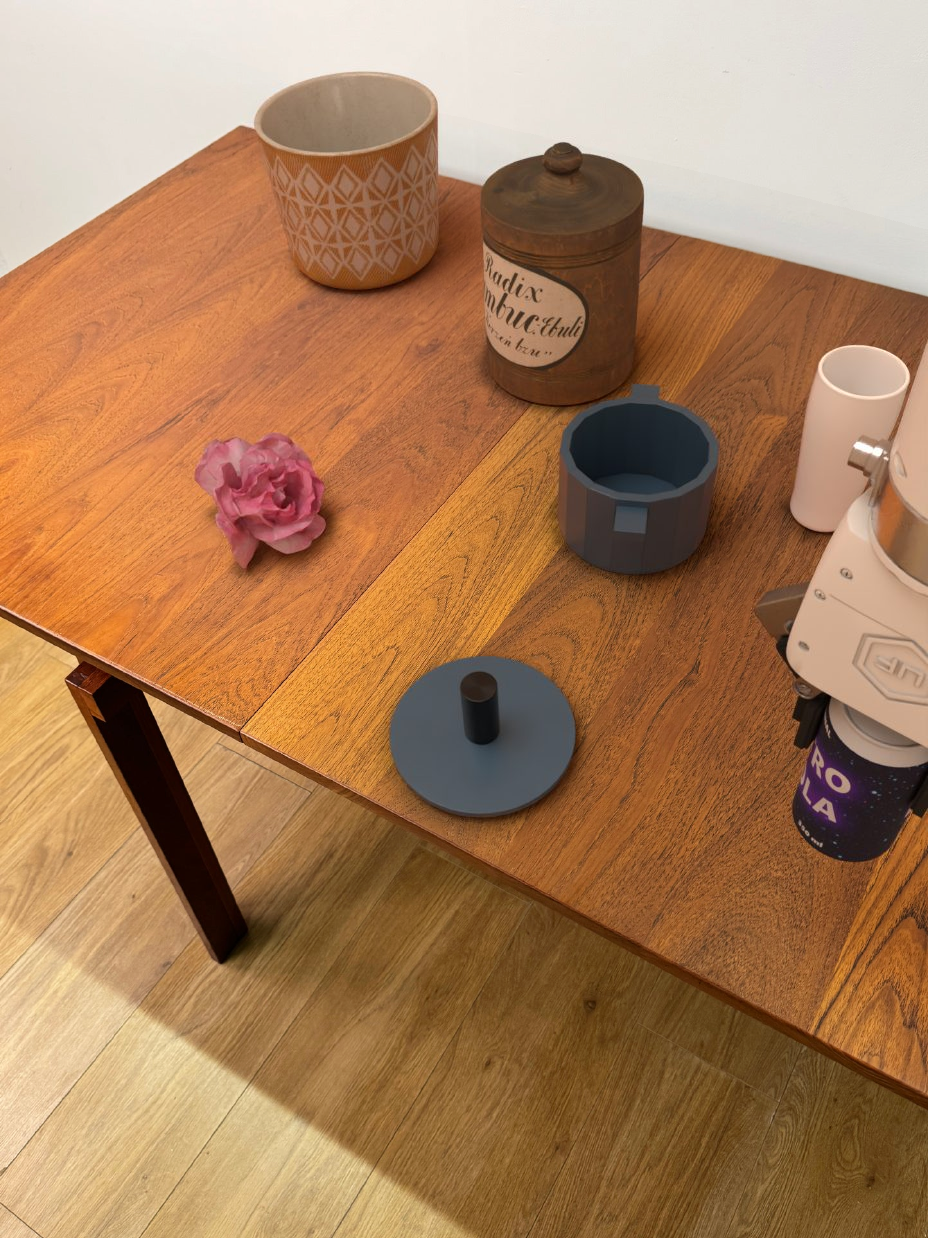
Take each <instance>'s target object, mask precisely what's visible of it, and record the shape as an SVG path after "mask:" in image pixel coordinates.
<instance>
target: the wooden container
mask: <svg viewBox="0 0 928 1238" xmlns="http://www.w3.org/2000/svg"><path fill="white" fill-rule="evenodd" d="M479 205H480V207H479V209H480V224H481V225H480V226H481V232H482V248H483V249H482V252H483V253H482V254H483V255H482V256H483V294H484V295H483V298H484V299H483V300H484V301H483V304H484V327H485V334H486V339H485V340H486V359H487V367H488V371H489V374H490V375H491V378H493V380H494V382H495V383H497V385H498V386H499V387H500V388H502V389H503V390H504V391H505V392H507V393H509V394H510V395H512V396H514V397H517V398H519V399H522V400H524V401H527V402H532V403H535V404H541V405H547V406H548V405H549V406H571V405H578V404H583V403H588V402H591V401H594V400H598V399H600V398H602V397H604V396H606V395H608V394H610V393H612V392H614V391H615V390H616V389H618V388H619V387H620V386H621V385H622V384H623V383H624V382H625V381H626V380H627V378H628V377H629V375H630V373H631V372H632V368H633V362H634V355H635V353H634V352H635V341H636V332H637V321H638V309H639V295H640V276H641V275H640V274H641V273H640V272H641V268H640V267H641V255H642V253H641V252H642V238H643V237H642V235H643V223H644V208H645V188H644V183H643V182H642V180H641V178H640V177H639V175H638V174H637V173H636V172H635V171H633V170H632V169H631V168H630V167H629V166H627V165H625V164H624V163H622V162H619V161H617V160H615V159H612V158H609V157H605V156H602V155H598V154H593V153H592V154H591V153H583V152H582V151H581V150H580V149H579V147H577V146H575V145H573V144H572V143H570V142H567V141H560V142H557V143H554V144H553V145H552V146H550V147H548V148H547V149H546V150H545V152H544V153H543V154H539V155H538V154H537V155H533V156H530V157H525V158H522V159H518V160H515V161H513V162H511V163H509V164H506V165H504V166H503V167H501V168H499V169H497V170H496V171H495V172H493V173H492V174H491V175H490V176H489V177H487V179H486V180H485V182H484V184H483V185H482V187H481V190H480V195H479Z"/></svg>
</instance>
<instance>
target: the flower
mask: <svg viewBox="0 0 928 1238" xmlns="http://www.w3.org/2000/svg"><path fill="white" fill-rule="evenodd" d="M193 476H194V481H195V482H196V483H197V484H198V486H199V487H200V489H202V490H204V491H205V492H206V493H207V494H208V495H209V496H210V497H212V499H213V501H214V503H215V505H216V507H217V509H218V510H217V513H216V514H215V518H214V519H215V522H216V523H215V524H216V527H218V529H220V530H221V532H223V534H224V535H225V537H226V539H227V541H228V543H229V544H230V548H231V549H230V551H231V553H232V555H233V558H234V559H235V560H236V562H237V564H238V565H239V566H240V568H242V569H247V567H248V564H249V563H250V562H251V560H252V558H253V557H254V554H255V552H256V550H257V548H258V547H259V545H260V541H262V542H264V543H265V544H266V545H268V546H270V547H271V548H273V549H275V550H276V551H279V552H280V553H283V554H285V555H287V554H288V555H289V554H294V553H296V552H297V553H298V552H301V551H303V550H305V549H308V548H309V547H310V546H311V545H312V543H313V540H315V539H317V538H319V537H320V536H321V535H322V534H323V532H324V531H325V529H326V526H327V523H326V520H325V518H323V517H322V516H321V515H319V514H318V513H319V512H320V509H321V506H322V499H323V493H324V490H325V485H324V481H323V480H322V479H320V478H319V477H318V476H317V474H316V472H315V470H314V468H313V465H312V462H311V459H310V457H309V456H308V454H306V452H305V451H304V450H303V449H302V448H301V446H300V445H298V444H297V443H295V442H294V441H293V440H292V439H291V438H290V437H289V436H286V435H285V434H283V433H281V432H269V433H265V434H264V435H263V436H262V437H261V438H260V439H259V440H258V442H254V443H252V444H251V443H250V442H248V441H247V440H245V439H244V438H241V437H236V436H234V437H231V438H229V439H226V440H223V441H220V440H219V439H217V438H215V439H213V440H212V441H210V442H209V443H208V444H206V445H205V446H204V449H203V451H202V454H201V457H200V458H199V461H198V463H197V465H196V467H195V469H194V474H193Z"/></svg>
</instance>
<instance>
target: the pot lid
mask: <svg viewBox="0 0 928 1238" xmlns="http://www.w3.org/2000/svg"><path fill="white" fill-rule="evenodd" d="M412 683H413V684H411V686H409V688H407V690H406V691H405V692H404V694H403V695H402V697H401V698H400V699H399V701H398V703H397V705H396V707H395V709H394V712H393V714H392V716H391V721H390V726H389V738H388V741H389V747H390V753H391V758H392V761H393V764H394V766H395V768H396V771H397V773H398V775H399V776H400V778H401V779H402V781H403V782H404V784H405V785H406V786H407V787H408V789H410V791H411V792H412V793H414V795H416V796H417V797H419V799H420V800H422V801H424V802H426V803H427V804H429V805H430V806H433V807H435V808H436V809H439V810H440V811H444V812H445V813H446V812H447V813H450V814H452V815H457V816H462V817H467V818H468V817H469V818H493V817H500V816H505V815H509V814H512V813H516V812H519V811H521V810H523V809H526V808H528V807H530V806H532V805H533V804H535V803H537V802H539V801H540V800H541V799H542V798H544V797H545V796H547V795H548V794H549V793H550V792H551V791H552V790H553V789H554V788H555V787H556V786H557V785H558V784H559V782H560V781H561V780H562V779H563V777H564V776H565V774H566V773H567V770H568V769H569V767H570V765H571V762H572V759H573V756H574V752H575V747H576V735H577V730H576V721H575V717H574V712H573V710H572V708H571V705H570V703H569V701H568V699H567V698H566V696H565V694H564V693H563V692H562V691H561V689H560V688H559V687H558V685H557V684H556V683H555V682H553V681H552V680H551V678H549V677H548V676H547V675H545V674H544V673H543V672H541V671H540V670H538V669H536V668H535V667H533V666H531V665H528V664H526V663H524V662H521V661H518V660H515V659H511V658H508V657H501V656H494V655H493V656H490V655H478V656H469V657H468V656H467V657H462V658H459V659H455V660H451V661H448V662H446V663H443V664H440V665H439V666H437V667H436V666H435V668H433V669H431V670H429V671H428V672H426V673H425V674H423V675H421V677H419V678H418V679H417V680H415V682H412Z"/></svg>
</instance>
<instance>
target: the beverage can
mask: <svg viewBox="0 0 928 1238" xmlns="http://www.w3.org/2000/svg"><path fill="white" fill-rule="evenodd" d="M927 775H928V748H927V747H925V746H923V745H921V744H919V743H917V742H915V741H913V740H911V739H909V738H908V737H906V736H904V735H902V734H900V733H898V732H896V731H894V730H893V729H891V728H889V727H887V726H885V725H883V724H881V723H879V722H878V721H876V720H874V719H872V718H870V717H868V716H867V715H865V714H863V713H861V712H859V711H857V710H856V709H854V708H852V707H850V706H848V705H847V704H845V703H843V702H841V701H839V700H837V699H836V698H834V697H832V696H830V698H829V700H828V703H827V706H826V709H825V712H824V714H823V717H822V720H821V723H820V726H819V728H818V731H817V734H816V737H815V739H814V741H813V742H812V744H811V748H810V751H809V754H808V756H807V759H806V762H805V764H804V768H803V770H802V773H801V776H800V778H799V781H798V785H797V787H796V790H795V793H794V796H793V798H792V803H791V814H792V818H793V822H794V825H795V827H796V829H797V830H798V833H799V834H800V836H801V837H802V838H803V839H804V841H805V842H806V843H807V844H809V846H811V847H812V848H813V849H814V850H816V851H817V852H818V853H821V854H822V855H824V856H826V857H828V858H831V859H834V860H837V861H840V862H845V863H863V862H864V863H865V862H869V861H872V860H875V859H878V858H879V857H881V856H882V855H884V854H885V853H886V852H887V851H888V850H889V849H891V847H892V845H893V844H894V842H895V840H896V839H897V837H898V835H899V834H900V831H901V830H902V828H903V826H904V824H905V822H906V821H907V819H908V817H909V816H910V814H911V813H912V810H911V809H910V806H911V804H912V803H913V801H914V799H915V797H916V795H917V794H918V792H919V790H920V788H921V786H922V784H923V783H924V781H925V779H926V777H927Z"/></svg>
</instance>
